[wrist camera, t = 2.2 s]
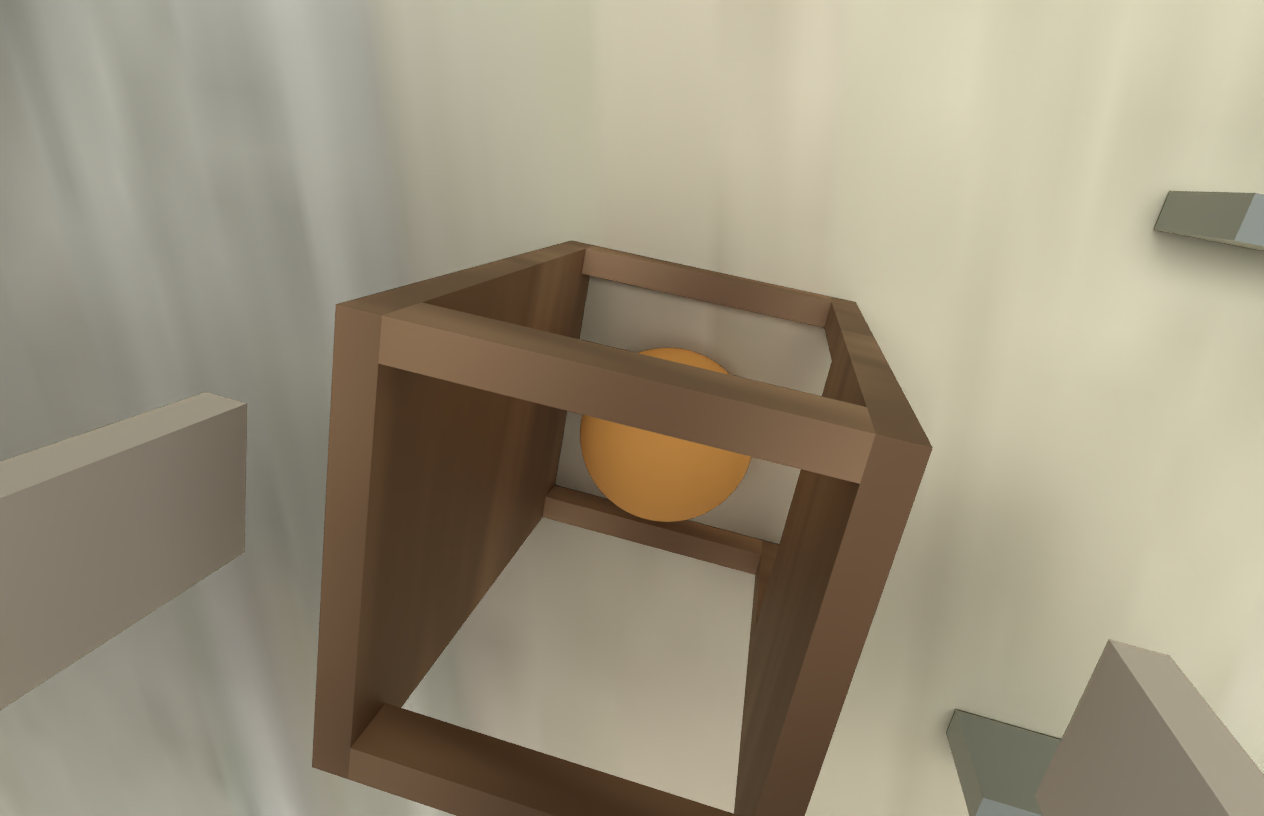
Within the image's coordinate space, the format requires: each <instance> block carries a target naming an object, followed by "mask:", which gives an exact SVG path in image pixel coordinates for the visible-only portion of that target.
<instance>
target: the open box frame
mask: <svg viewBox="0 0 1264 816" xmlns="http://www.w3.org/2000/svg"><path fill="white" fill-rule="evenodd" d="M589 275H590V276H595V277H599V278H604V279H608V280H613V281H617V282H622V283H626V284H631V285H635V286H640V287H644V288H649V289H653V290H658V291H662V292H667V293H671V294H676V295H680V296H685V297H689V298H694V299H698V300H703V301H707V302H712V303H716V304H721V305H725V306H730V307H734V308H739V309H743V310H748V311H752V312H757V313H761V314H766V315H770V316H775V317H779V318H784V319H788V320H792V321H797V322H801V323H806V324H810V325H815V326H819V327H824V328H825V332H826V337H827V341H828V345H829V350H830V354H831V359H832V363H831V366H830V370H829V373H828V377H827V380H826V384H825V387H824V391H823V394H822V396H817V395H813V394H809V393H805V392H800V391H796V390H792V389H788V388H783V387H779V386H775V385H771V384H766V383H762V382H758V381H754V380H749V379H745V378H741V377H737V376H732V375H728V374H724V373H720V372H715V371H711V370H707V369H703V368H698V367H694V366H690V365H686V364H681V363H677V362H673V361H669V360H664V359H660V358H656V357H652V356H647V355H643V354H639V353H635V352H631V351H626V350H622V349H618V348H614V347H609V346H605V345H601V344H597V343H592V342H588V341H584V340H580V339H579V336H580V330H581V323H582V317H583V311H584V305H585V299H586V293H587V287H588V281H589ZM567 411H570V412H574V413H578V414H582V415H586V416H590V417H594V418H598V419H602V420H606V421H610V422H614V423H618V424H622V425H626V426H630V427H634V428H638V429H643V430H646V431H651V432H655V433H658V434H663V435H667V436H671V437H675V438H679V439H683V440H687V441H691V442H695V443H699V444H703V445H707V446H711V447H715V448H719V449H723V450H727V451H731V452H735V453H739V454H743V455H747V456H751V457H755V458H759V459H763V460H767V461H771V462H775V463H779V464H783V465H787V466H791V467H795V468H799V469H801V471H800V474H799V478H798V481H797V485H796V488H795V492H794V495H793V499H792V502H791V506H790V509H789V513H788V516H787V520H786V523H785V527H784V530H783V534H782V537H781V541H780V544H779V545H778V544H774V543H771V542H767V541H763V540H759V539H756V538H752V537H748V536H744V535H741V534H737V533H733V532H729V531H725V530H722V529H718V528H714V527H710V526H707V525H703V524H699V523H695V522H692V521H688V520H682V521H673V522H663V521H653V520H648V519H644V518H641V517H638V516H635V515H633V514H630V513H628V512H626V511H625V510H623V509H621V508H620V507H618V506H617V505H615V504H614V503H613V502H612V501H610V500H609V499H605V498H601V497H597V496H593V495H590V494H586V493H582V492H578V491H575V490H571V489H567V488H563V487H559V486H556V485H555V481H556V475H557V468H558V462H559V456H560V450H561V444H562V438H563V432H564V426H565V420H566V414H567ZM931 451H932V446H931V444H930V442H929V440H928V438H927V436H926V434H925V432H924V431H923V429H922V427H921V425H920V423H919V421H918V419H917V417H916V415H915V414H914V412H913V410H912V408H911V406H910V404H909V402H908V400H907V398H906V397H905V395H904V393H903V391H902V389H901V387H900V385H899V383H898V382H897V380H896V378H895V376H894V374H893V372H892V370H891V368H890V366H889V365H888V363H887V361H886V359H885V357H884V355H883V353H882V351H881V349H880V348H879V346H878V344H877V342H876V340H875V338H874V336H873V334H872V332H871V331H870V329H869V327H868V325H867V323H866V321H865V319H864V317H863V316H862V314H861V312H860V310H859V308H858V306H857V304H856V302H852V301H847V300H843V299H838V298H834V297H829V296H824V295H820V294H815V293H811V292H806V291H801V290H797V289H792V288H787V287H783V286H778V285H774V284H769V283H764V282H760V281H755V280H751V279H746V278H741V277H737V276H732V275H727V274H723V273H718V272H714V271H709V270H704V269H700V268H695V267H691V266H686V265H681V264H677V263H672V262H667V261H663V260H658V259H654V258H649V257H644V256H640V255H635V254H631V253H626V252H621V251H617V250H612V249H607V248H603V247H598V246H594V245H589V244H584V243H580V242H575V241H568V242H564V243H561V244H557V245H553V246H550V247H546V248H542V249H539V250H535V251H531V252H527V253H524V254H520V255H516V256H513V257H509V258H505V259H502V260H498V261H494V262H491V263H487V264H483V265H479V266H476V267H472V268H468V269H465V270H461V271H457V272H454V273H450V274H446V275H443V276H439V277H435V278H431V279H428V280H424V281H420V282H417V283H413V284H409V285H406V286H402V287H398V288H395V289H391V290H387V291H383V292H380V293H376V294H372V295H369V296H365V297H361V298H358V299H354V300H350V301H347V302H343V303H339V304H336V312H335V331H334V351H333V370H332V390H331V409H330V428H329V448H328V467H327V487H326V506H325V526H324V545H323V564H322V584H321V603H320V623H319V642H318V662H317V681H316V700H315V720H314V739H313V759H312V767H314V768H317V769H320V770H323V771H326V772H329V773H331V774H334V775H337V776H340V777H343V778H346V779H349V780H352V781H355V782H358V783H361V784H364V785H367V786H370V787H373V788H376V789H379V790H382V791H385V792H388V793H391V794H394V795H397V796H400V797H403V798H406V799H409V800H412V801H415V802H418V803H421V804H424V805H427V806H430V807H433V808H436V809H439V810H442V811H445V812H448V813H450V814H453V815H456V816H805V813H806V810H807V807H808V804H809V801H810V798H811V796H812V793H813V790H814V787H815V784H816V781H817V778H818V775H819V773H820V770H821V767H822V764H823V761H824V758H825V755H826V752H827V750H828V747H829V744H830V741H831V738H832V735H833V732H834V729H835V727H836V724H837V721H838V718H839V715H840V712H841V709H842V706H843V704H844V701H845V698H846V695H847V692H848V689H849V686H850V683H851V681H852V678H853V675H854V672H855V669H856V666H857V663H858V660H859V658H860V655H861V652H862V649H863V646H864V643H865V640H866V638H867V635H868V632H869V629H870V626H871V623H872V620H873V617H874V615H875V612H876V609H877V606H878V603H879V600H880V597H881V594H882V592H883V589H884V586H885V583H886V580H887V577H888V574H889V571H890V569H891V566H892V563H893V560H894V557H895V554H896V551H897V548H898V546H899V543H900V540H901V537H902V534H903V531H904V528H905V525H906V523H907V520H908V517H909V514H910V511H911V508H912V505H913V502H914V500H915V497H916V494H917V491H918V488H919V485H920V482H921V479H922V477H923V474H924V471H925V468H926V465H927V462H928V459H929V456H930V454H931ZM542 517H545V518H549V519H552V520H556V521H560V522H563V523H567V524H571V525H574V526H578V527H582V528H585V529H589V530H593V531H596V532H600V533H604V534H607V535H611V536H615V537H618V538H622V539H626V540H629V541H633V542H637V543H640V544H644V545H648V546H651V547H655V548H659V549H663V550H666V551H670V552H674V553H677V554H681V555H685V556H688V557H692V558H696V559H699V560H703V561H707V562H710V563H714V564H718V565H721V566H725V567H729V568H732V569H736V570H740V571H743V572H747V573H751V574H754V575H756V576H755V587H754V598H753V610H752V621H751V632H750V643H749V654H748V665H747V676H746V687H745V698H744V709H743V720H742V731H741V742H740V753H739V764H738V776H737V787H736V798H735V809H734V814H733V813H729V812H726V811H723V810H720V809H717V808H714V807H711V806H707V805H704V804H701V803H698V802H695V801H692V800H689V799H685V798H682V797H679V796H676V795H673V794H670V793H667V792H663V791H660V790H657V789H654V788H651V787H648V786H645V785H641V784H638V783H635V782H632V781H629V780H626V779H623V778H619V777H616V776H613V775H610V774H607V773H604V772H601V771H597V770H594V769H591V768H588V767H585V766H582V765H579V764H575V763H572V762H569V761H566V760H563V759H560V758H557V757H553V756H550V755H547V754H544V753H541V752H538V751H535V750H531V749H528V748H525V747H522V746H519V745H516V744H513V743H509V742H506V741H503V740H500V739H497V738H494V737H491V736H487V735H484V734H481V733H478V732H475V731H472V730H469V729H465V728H462V727H459V726H456V725H453V724H450V723H447V722H443V721H440V720H437V719H434V718H431V717H428V716H425V715H421V714H418V713H415V712H412V711H409V710H406V709H403V708H401V707H402V706H403V704H404V703H405V702H406V700H407V699H408V698H409V696H410V695H411V693H412V692H413V691H414V689H415V688H416V687H417V685H418V684H419V683H420V681H421V680H422V679H423V677H424V676H425V675H426V673H427V672H428V671H429V669H430V668H431V667H432V665H433V664H434V662H435V661H436V660H437V658H438V657H439V656H440V654H441V653H442V652H443V650H444V649H445V648H446V646H447V645H448V644H449V642H450V641H451V640H452V638H453V637H454V635H455V634H456V633H457V631H458V630H459V629H460V627H461V626H462V625H463V623H464V622H465V621H466V619H467V618H468V617H469V615H470V614H471V613H472V611H473V610H474V608H475V607H476V606H477V604H478V603H479V602H480V600H481V599H482V598H483V596H484V595H485V594H486V592H487V591H488V590H489V588H490V587H491V586H492V584H493V583H494V581H495V580H496V579H497V577H498V576H499V575H500V573H501V572H502V571H503V569H504V568H505V567H506V565H507V564H508V563H509V561H510V560H511V559H512V557H513V556H514V554H515V553H516V552H517V550H518V549H519V548H520V546H521V545H522V544H523V542H524V541H525V540H526V538H527V537H528V536H529V534H530V533H531V532H532V530H533V529H534V527H535V526H536V525H537V523H538V522H539V521H540V519H541V518H542Z"/></svg>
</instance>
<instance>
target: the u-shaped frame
mask: <svg viewBox="0 0 1264 816" xmlns="http://www.w3.org/2000/svg"><path fill="white" fill-rule="evenodd" d="M1154 230H1158V231H1163V232H1168V233H1174V234H1179V235H1184V236H1189V237H1194V238H1199V239H1205V240H1210V241H1215V242H1220V243H1225V244H1231V245H1236V246H1241V247H1246V248H1251V249H1257V250H1262V251H1264V195H1263V194H1257V193H1229V192H1191V191H1170V192H1169V194H1168V197H1167V199H1166V202H1165V204H1164V206H1163V209H1162V211H1161V214H1160V216H1159V219H1158V221H1157V223H1156V226H1155V228H1154ZM946 734H947V737H948V741H949V744H950V748H951V751H952V755H953V758H954V762H955V766H956V769H957V773H958V776H959V780H960V783H961V787H962V790H963V794H964V798H965V801H966V805H967V808H968V812H969V815H970V816H1042V813H1041V811H1040V808H1039V805H1038V803H1037V800H1036V798H1035V794H1036V792H1037V790H1038V788H1039V786H1040V784H1041V782H1042V780H1043V777H1044V775H1045V773H1046V771H1047V769H1048V767H1049V765H1050V763H1051V761H1052V758H1053V756H1054V754H1055V752H1056V750H1057V748H1058V746H1059V744H1060V741H1061V740H1060V739H1057V738H1053V737H1050V736H1046V735H1043V734H1039V733H1036V732H1032V731H1029V730H1025V729H1022V728H1018V727H1015V726H1011V725H1008V724H1004V723H1001V722H997V721H994V720H990V719H987V718H983V717H980V716H976V715H973V714H969V713H966V712H962V711H959V710H956V711H955V713H954V716H953V718H952V720H951V723H950V725H949V728H948V730H947V733H946Z"/></svg>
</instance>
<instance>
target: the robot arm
mask: <svg viewBox="0 0 1264 816" xmlns="http://www.w3.org/2000/svg"><path fill="white" fill-rule="evenodd" d="M246 440H247V403H244V402H240V401H237V400H233V399H229V398H226V397H222V396H218V395H215V394H211V393H207V392H204V393H201V394H199V395H196V396H193V397H190V398H187V399H184V400H181V401H178V402H175V403H172V404H169V405H166V406H163V407H160V408H157V409H154V410H151V411H148V412H145V413H142V414H139V415H136V416H133V417H130V418H127V419H125V420H122V421H119V422H116V423H113V424H110V425H107V426H104V427H101V428H98V429H95V430H92V431H89V432H86V433H83V434H80V435H77V436H74V437H71V438H68V439H65V440H62V441H59V442H56V443H53V444H51V445H48V446H45V447H42V448H39V449H36V450H33V451H30V452H27V453H24V454H21V455H18V456H15V457H12V458H9V459H6V460H3V461H0V710H1V709H3V708H4V707H6V706H7V705H9V704H11V703H12V702H14V701H15V700H17V699H18V698H20V697H21V696H23V695H24V694H26V693H28V692H29V691H31V690H32V689H34V688H35V687H37V686H38V685H40V684H41V683H43V682H45V681H46V680H48V679H49V678H51V677H52V676H54V675H55V674H57V673H58V672H60V671H61V670H63V669H65V668H66V667H68V666H69V665H71V664H72V663H74V662H75V661H77V660H78V659H80V658H82V657H83V656H85V655H86V654H88V653H89V652H91V651H92V650H94V649H95V648H97V647H99V646H100V645H102V644H103V643H105V642H106V641H108V640H109V639H111V638H112V637H114V636H116V635H117V634H119V633H120V632H122V631H123V630H125V629H126V628H128V627H129V626H131V625H132V624H134V623H136V622H137V621H139V620H140V619H142V618H143V617H145V616H146V615H148V614H149V613H151V612H153V611H154V610H156V609H157V608H159V607H160V606H162V605H163V604H165V603H166V602H168V601H170V600H171V599H173V598H174V597H176V596H177V595H179V594H180V593H182V592H183V591H185V590H186V589H188V588H190V587H191V586H193V585H194V584H196V583H197V582H199V581H200V580H202V579H203V578H205V577H207V576H208V575H210V574H211V573H213V572H214V571H216V570H217V569H219V568H220V567H222V566H224V565H225V564H227V563H228V562H230V561H231V560H233V559H234V558H236V557H237V556H239V555H241V554H242V553H244V552H245V496H246ZM1035 798H1036V800H1037V803H1038V805H1039V808H1040V811H1041V813H1042V816H1264V774H1263V773H1262V772H1261V770H1260V769H1259V768H1258V767H1257V765H1256V764H1255V763H1254V762H1253V760H1252V759H1251V758H1250V757H1249V755H1248V754H1247V753H1246V751H1245V750H1244V749H1243V748H1242V746H1241V745H1240V744H1239V743H1238V741H1237V740H1236V739H1235V738H1234V736H1233V735H1232V734H1231V733H1230V731H1229V730H1228V729H1227V727H1226V726H1225V725H1224V724H1223V722H1222V721H1221V720H1220V719H1219V717H1218V716H1217V715H1216V714H1215V712H1214V711H1213V710H1212V708H1211V707H1210V706H1209V705H1208V703H1207V702H1206V701H1205V700H1204V698H1203V697H1202V696H1201V695H1200V693H1199V692H1198V691H1197V690H1196V688H1195V687H1194V686H1193V684H1192V683H1191V682H1190V681H1189V679H1188V678H1187V677H1186V676H1185V674H1184V673H1183V672H1182V671H1181V669H1180V668H1179V667H1178V665H1177V664H1176V663H1175V662H1174V660H1173V659H1172V658H1171V657H1170V656H1168V655H1165V654H1161V653H1157V652H1154V651H1150V650H1146V649H1143V648H1139V647H1135V646H1132V645H1128V644H1125V643H1121V642H1117V641H1114V640H1110V639H1109V640H1108V642H1107V644H1106V646H1105V648H1104V650H1103V653H1102V655H1101V657H1100V659H1099V661H1098V663H1097V665H1096V667H1095V669H1094V672H1093V674H1092V676H1091V678H1090V680H1089V682H1088V684H1087V686H1086V689H1085V691H1084V693H1083V695H1082V697H1081V699H1080V701H1079V703H1078V705H1077V708H1076V710H1075V712H1074V714H1073V716H1072V718H1071V720H1070V722H1069V725H1068V727H1067V729H1066V731H1065V733H1064V735H1063V737H1062V739H1061V741H1060V744H1059V746H1058V748H1057V750H1056V752H1055V754H1054V756H1053V758H1052V761H1051V763H1050V765H1049V767H1048V769H1047V771H1046V773H1045V775H1044V777H1043V780H1042V782H1041V784H1040V786H1039V788H1038V790H1037V792H1036V794H1035Z"/></svg>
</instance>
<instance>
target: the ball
mask: <svg viewBox="0 0 1264 816" xmlns="http://www.w3.org/2000/svg"><path fill="white" fill-rule="evenodd" d="M639 354H643V355H647V356H652V357H656V358H660V359H664V360H669V361H673V362H677V363H681V364H686V365H690V366H694V367H698V368H703V369H707V370H711V371H715V372H720V373H724V374H728V375H730V374H729V373H728V372H727V371H726V370H725V369H724V368H722V367H721V366H720V365H719V364H717V363H716V362H714V361H712V360H711V359H709V358H707V357H705V356H703V355H701V354H698V353H696V352H692V351H689V350H685V349H679V348H657V349H650V350H646V351H641V352H639ZM580 442H581V449H582V454H583V458H584V462H585V465H586V467H587V469H588V472H589V474H590V476H591V477H592V479H593V481H594V482H595V484H596V485H597V487H598V488H599V489H600V490H601V492H602V493H603V494H604V495H605V496H606V497H607V498H608V499H609V500H610V501H612V502H613V503H614V504H615V505H617V506H618V507H620V508H621V509H623V510H625V511H626V512H628V513H630V514H633V515H635V516H638V517H641V518H644V519H648V520H653V521H663V522H673V521H682V520H688V519H691V518H694V517H697V516H700V515H702V514H704V513H706V512H708V511H710V510H712V509H713V508H715V507H717V506H718V505H719V504H721V503H722V502H723V501H724V500H726V499H727V498H728V497H729V496H730V494H731V493H732V492H733V491H734V490H735V489H736V488H737V486H738V485H739V483H740V482H741V480H742V479H743V477H744V475H745V473H746V471H747V469H748V466H749V463H750V460H751V456H747V455H743V454H739V453H735V452H731V451H727V450H723V449H719V448H715V447H711V446H707V445H703V444H699V443H695V442H691V441H687V440H683V439H679V438H675V437H671V436H667V435H663V434H658V433H655V432H651V431H646V430H643V429H638V428H634V427H630V426H626V425H622V424H618V423H614V422H610V421H606V420H602V419H598V418H594V417H590V416H586V415H582V420H581V428H580Z"/></svg>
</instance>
